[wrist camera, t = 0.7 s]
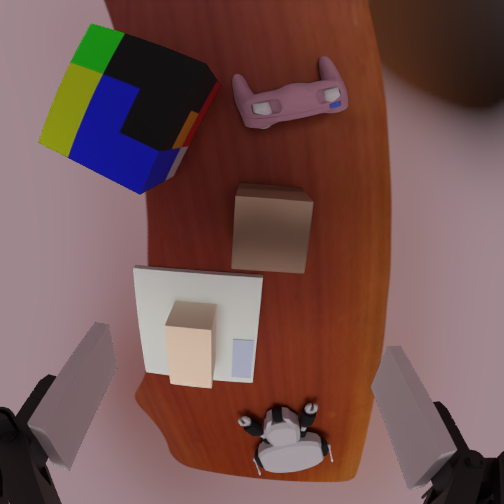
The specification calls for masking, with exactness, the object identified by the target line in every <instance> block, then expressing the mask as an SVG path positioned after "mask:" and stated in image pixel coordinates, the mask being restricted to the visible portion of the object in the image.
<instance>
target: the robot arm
mask: <svg viewBox="0 0 504 504" xmlns="http://www.w3.org/2000/svg"><path fill="white" fill-rule="evenodd" d="M116 370H117V364H116V359H115V354H114V349H113V343H112V338H111V332H110V326H109V324H103V323H98V322H95V323H94V325H93V326H92V327H91V328H90V330H89V331H88V333H87V334H86V335H85V337H84V338H83V340H82V341H81V342H80V344H79V345H78V347H77V348H76V350H75V351H74V352H73V354H72V355H71V357H70V358H69V360H68V361H67V363H66V364H65V365H64V367H63V368H62V370H61V371H60V373H59V374H58V376H57V377H56V376H53V375H49V374H48V375H47V376H46V377H44V378H43V379H41V380H40V381H39V382H38V384H37V385H36V387H35V388H34V391H32V393H31V394H30V397H28V399H27V400H26V402H25V403H24V405H23V406H22V408H21V409H20V411H19V412H18V414H17V415H16V417H15V415H14V414H13V412H12V411H11V410H10V409H9V408H5V407H0V504H9V503H10V504H62V503H61V501H60V499H59V496H58V494H57V491H56V489H55V486H54V484H53V481H52V478H51V476H50V473H49V470H48V467H47V466H46V462H47V459H48V458H49V459H50V461H51V462H52V463H53V465H55V466H58V467H60V468H63V469H65V470H68V471H70V469H71V467H72V464H73V461H74V459H75V457H76V455H77V453H78V450H79V448H80V446H81V444H82V441H83V439H84V437H85V435H86V433H87V430H88V428H89V426H90V424H91V422H92V420H93V417H94V415H95V413H96V411H97V409H98V407H99V405H100V403H101V401H102V398H103V396H104V394H105V392H106V390H107V388H108V386H109V384H110V382H111V380H112V378H113V376H114V374H115V372H116ZM371 389H372V391H373V394H374V397H375V399H376V402H377V404H378V407H379V409H380V412H381V415H382V417H383V420H384V423H385V425H386V428H387V430H388V433H389V436H390V439H391V442H392V444H393V447H394V450H395V453H396V456H397V458H398V461H399V464H400V467H401V470H402V472H403V476H404V479H405V481H406V485H407V488H408V490H409V491H410V490H414V489H418V488H422V487H424V486H425V485H426V484H427V483H428V482H429V481H430V480H431V481H432V484H433V486H432V487H431V488H430V489H429V490H428V491H427V492H426V493H425V494H424V495H423V496H422V499H423V498H424V497H425V496H426V495H427V497H426V499H425V501H424V503H423V504H504V451H503V452H502V453H501V454H500V455H499V456H498V457H497V458H484V457H483V456H482V455H481V454H480V453H479V452H477V451H475V450H469V448H468V446H467V444H466V443H465V441H464V439H463V437H462V435H461V433H460V431H459V429H458V427H457V426H456V425H455V422H454V420H453V419H452V417H451V415H450V413H449V411H448V410H447V408H446V407H445V406H444V405H443V404H442V403H441V402H439V401H438V402H432V400H431V398H430V396H429V394H428V393H427V391H426V389H425V388H424V385H423V384H422V382H421V380H420V378H419V377H418V375H417V373H416V371H415V370H414V368H413V366H412V364H411V363H410V361H409V359H408V358H407V356H406V354H405V353H404V351H403V349H402V347H401V346H387V348H386V351H385V354H384V356H383V359H382V361H381V364H380V366H379V369H378V371H377V374H376V376H375V378H374V381H373V383H372V385H371Z"/></svg>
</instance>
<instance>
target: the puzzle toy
mask: <svg viewBox="0 0 504 504" xmlns="http://www.w3.org/2000/svg"><path fill="white" fill-rule="evenodd" d="M220 87H221V85H220V84H219V82H218V81H217V79H216V78H215V76H214V75H213V73H212V72H211V70H210V69H209V67H208V66H207V64H205V63H203V62H200V61H198V60H196V59H193V58H191V57H188V56H186V55H183V54H181V53H178V52H176V51H173V50H171V49H168V48H165V47H163V46H160V45H157V44H155V43H152V42H149V41H146V40H143V39H140V38H137V37H134V36H131V35H128V34H125V33H122V32H119V31H115V30H112V29H109V28H105V27H101V26H98V25H94V24H91V25H90V27H89V28H88V30H87V32H86V34H85V36H84V37H83V39H82V41H81V43H80V45H79V47H78V49H77V50H76V52H75V54H74V56H73V58H72V60H71V63H70V65H69V67H68V69H67V71H66V73H65V75H64V77H63V80H62V82H61V84H60V87H59V89H58V91H57V94H56V96H55V99H54V101H53V103H52V106H51V108H50V111H49V114H48V117H47V119H46V122H45V125H44V127H43V130H42V133H41V136H40V139H39V143H40V144H42V145H44V146H46V147H48V148H50V149H52V150H54V151H56V152H58V153H60V154H62V155H64V156H66V157H68V158H69V159H71V160H73V161H75V162H77V163H79V164H81V165H83V166H85V167H87V168H89V169H91V170H93V171H95V172H97V173H99V174H101V175H103V176H105V177H106V178H108V179H110V180H112V181H114V182H116V183H118V184H120V185H122V186H124V187H126V188H128V189H130V190H132V191H134V192H136V193H138V194H142V193H144V192H146V191H148V190H149V189H151V188H153V187H155V186H157V185H158V184H160V183H162V182H164V181H166V180H168V179H169V178H171V177H173V176H174V175H175V173H176V170H177V168H178V166H179V164H180V162H181V160H182V158H183V156H184V154H185V152H186V150H187V148H188V146H189V144H190V142H191V140H192V139H193V137H194V135H195V133H196V131H197V129H198V127H199V125H200V123H201V121H202V120H203V118H204V116H205V114H206V112H207V110H208V109H209V107H210V105H211V103H212V101H213V100H214V98H215V96H216V94H217V93H218V91H219V89H220Z"/></svg>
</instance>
